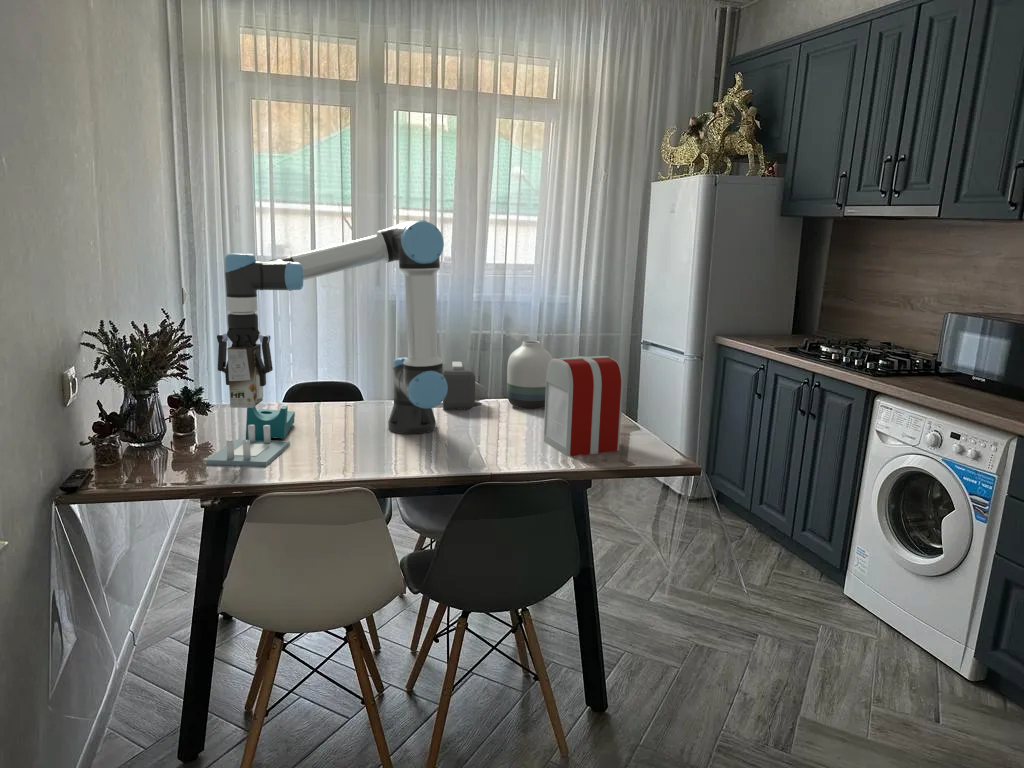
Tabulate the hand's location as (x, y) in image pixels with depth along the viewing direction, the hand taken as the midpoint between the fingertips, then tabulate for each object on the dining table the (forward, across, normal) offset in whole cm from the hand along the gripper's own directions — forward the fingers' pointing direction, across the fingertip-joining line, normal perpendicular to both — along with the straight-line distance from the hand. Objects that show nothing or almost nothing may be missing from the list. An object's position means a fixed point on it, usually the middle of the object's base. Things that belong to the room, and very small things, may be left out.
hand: (246, 397), depth 190 cm
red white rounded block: (+16, -93, -18) cm, 96 cm away
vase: (+16, -78, -66) cm, 104 cm away
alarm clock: (+16, -52, -64) cm, 84 cm away
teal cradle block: (+17, +2, -22) cm, 28 cm away
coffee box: (+2, 0, 0) cm, 2 cm away
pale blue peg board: (+16, 0, 0) cm, 16 cm away
